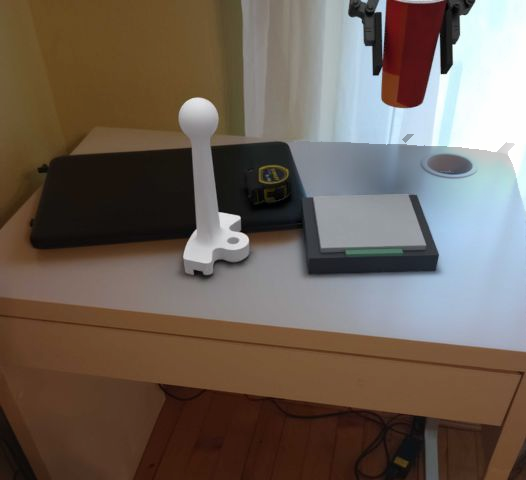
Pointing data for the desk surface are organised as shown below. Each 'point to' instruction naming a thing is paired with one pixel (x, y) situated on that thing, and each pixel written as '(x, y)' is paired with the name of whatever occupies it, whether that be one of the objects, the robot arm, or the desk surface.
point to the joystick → (208, 196)
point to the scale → (367, 234)
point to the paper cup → (409, 49)
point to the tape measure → (268, 183)
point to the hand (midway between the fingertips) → (412, 69)
